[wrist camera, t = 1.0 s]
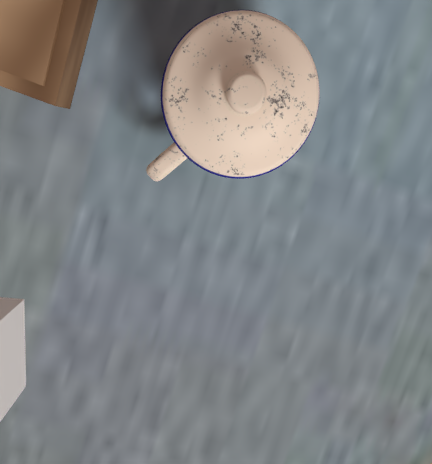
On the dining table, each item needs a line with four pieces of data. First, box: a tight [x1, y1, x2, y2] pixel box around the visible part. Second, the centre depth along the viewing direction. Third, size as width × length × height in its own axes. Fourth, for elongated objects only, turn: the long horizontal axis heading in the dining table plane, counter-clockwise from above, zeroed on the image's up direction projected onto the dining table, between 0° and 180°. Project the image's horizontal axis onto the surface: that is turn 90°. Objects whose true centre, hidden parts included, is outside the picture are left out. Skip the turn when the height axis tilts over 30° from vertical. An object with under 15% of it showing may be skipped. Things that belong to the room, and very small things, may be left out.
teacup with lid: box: [146, 10, 319, 181], centre depth 24 cm, size 12×9×12 cm
